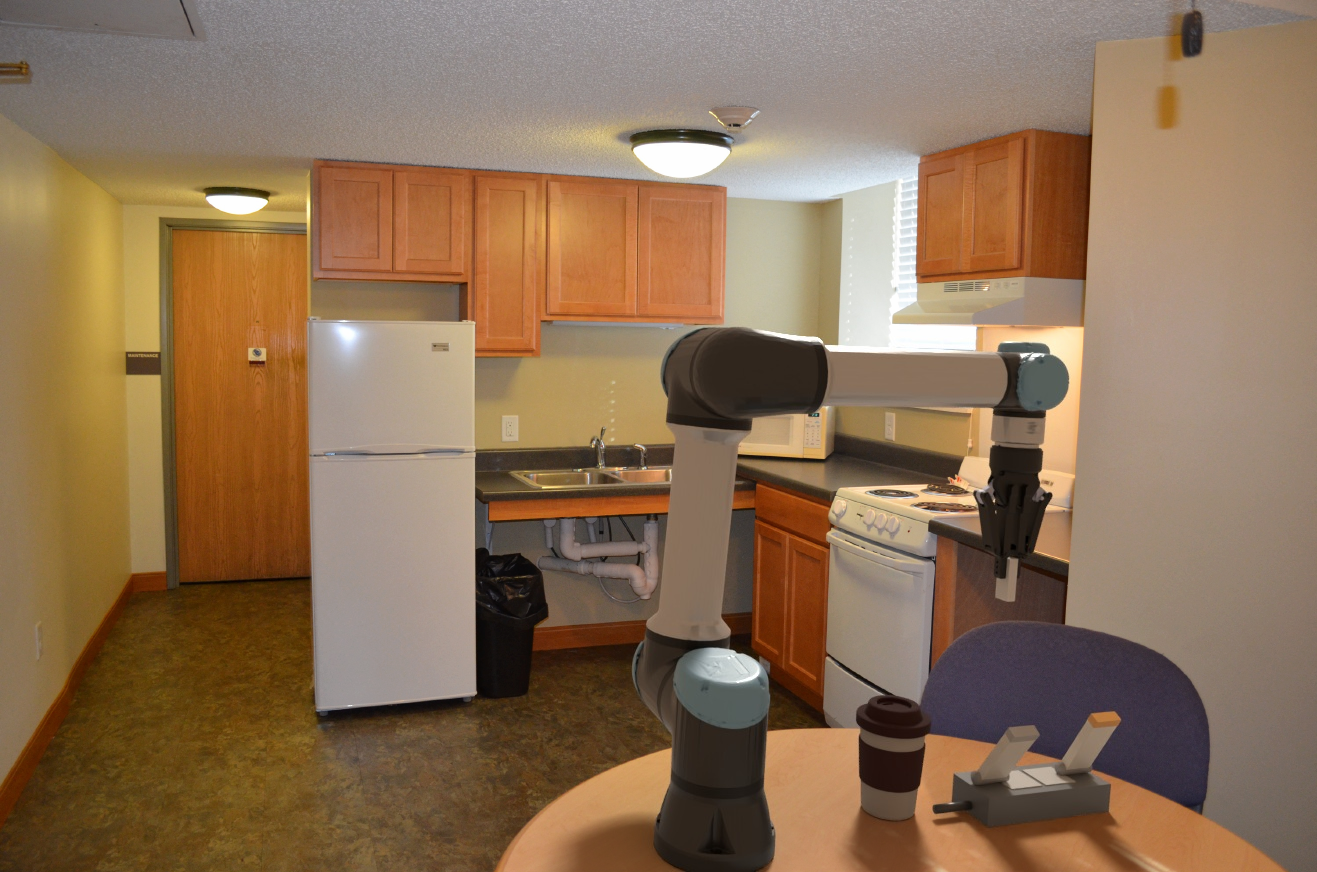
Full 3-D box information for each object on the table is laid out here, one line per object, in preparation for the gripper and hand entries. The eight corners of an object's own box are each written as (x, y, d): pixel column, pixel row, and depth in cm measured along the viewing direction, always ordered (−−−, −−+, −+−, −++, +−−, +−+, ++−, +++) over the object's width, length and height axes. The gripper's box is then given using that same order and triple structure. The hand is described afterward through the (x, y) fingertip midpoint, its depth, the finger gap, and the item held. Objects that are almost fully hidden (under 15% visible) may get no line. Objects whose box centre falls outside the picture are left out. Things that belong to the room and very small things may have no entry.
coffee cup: (927, 831, 127) (934, 720, 126) (850, 821, 129) (857, 711, 128) (922, 798, 137) (929, 694, 136) (850, 789, 139) (857, 687, 138)
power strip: (951, 831, 127) (954, 801, 127) (917, 804, 135) (919, 775, 134) (1108, 811, 135) (1111, 782, 135) (1068, 786, 143) (1070, 759, 142)
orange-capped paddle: (1060, 777, 136) (1095, 723, 130) (1052, 767, 138) (1087, 712, 132) (1088, 774, 138) (1125, 720, 132) (1081, 764, 139) (1117, 710, 133)
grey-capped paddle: (974, 787, 132) (1011, 738, 125) (968, 775, 134) (1004, 726, 127) (1005, 783, 134) (1043, 735, 127) (999, 772, 135) (1036, 723, 128)
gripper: (996, 446, 140) (984, 607, 142) (1070, 448, 144) (1057, 604, 146) (964, 441, 147) (953, 594, 149) (1035, 443, 151) (1023, 592, 153)
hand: (1004, 599), depth 148 cm, fingers closed
